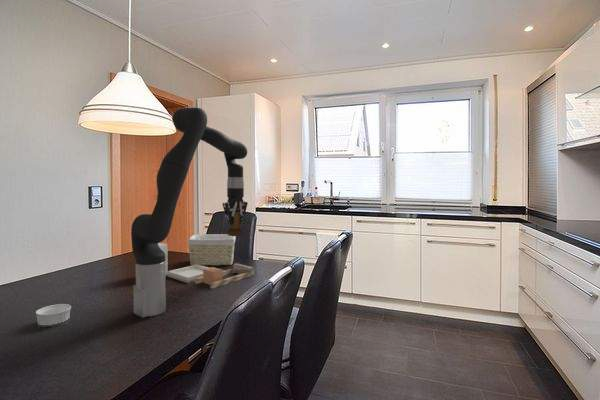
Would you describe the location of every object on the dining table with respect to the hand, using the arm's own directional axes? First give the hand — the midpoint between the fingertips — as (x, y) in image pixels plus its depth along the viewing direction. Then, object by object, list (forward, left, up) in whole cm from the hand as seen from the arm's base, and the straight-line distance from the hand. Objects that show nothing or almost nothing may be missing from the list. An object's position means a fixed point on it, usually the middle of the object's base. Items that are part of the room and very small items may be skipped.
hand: (235, 223), depth 152 cm
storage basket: (+10, +29, -25) cm, 39 cm away
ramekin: (-69, +7, -25) cm, 74 cm away
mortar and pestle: (0, 0, -6) cm, 6 cm away
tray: (-12, +16, -25) cm, 32 cm away
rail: (-6, 0, -25) cm, 25 cm away
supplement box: (-24, +29, -25) cm, 45 cm away
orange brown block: (-13, 0, -25) cm, 28 cm away
